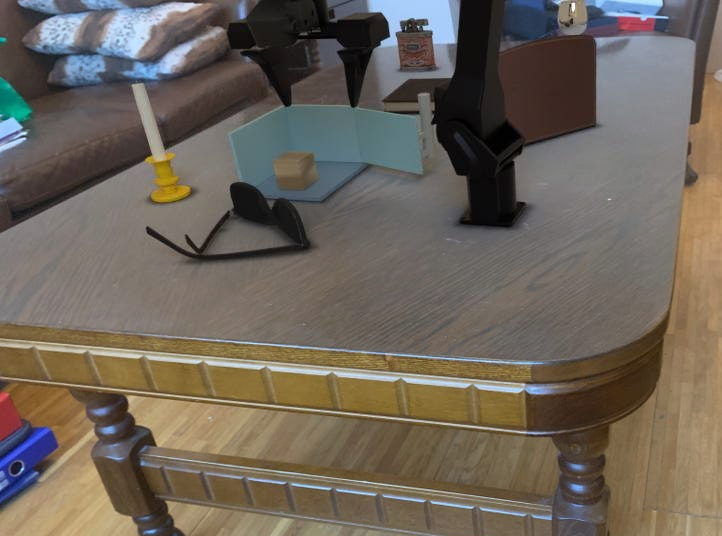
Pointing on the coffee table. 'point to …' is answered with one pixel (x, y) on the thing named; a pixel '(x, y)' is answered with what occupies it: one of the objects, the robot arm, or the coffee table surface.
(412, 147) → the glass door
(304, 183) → the block
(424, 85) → the hardcover book
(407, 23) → the lighter
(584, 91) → the letter holder
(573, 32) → the wineglass
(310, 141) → the enclosure
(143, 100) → the candle
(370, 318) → the coffee table surface
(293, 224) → the sunglasses
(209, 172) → the coffee table surface
